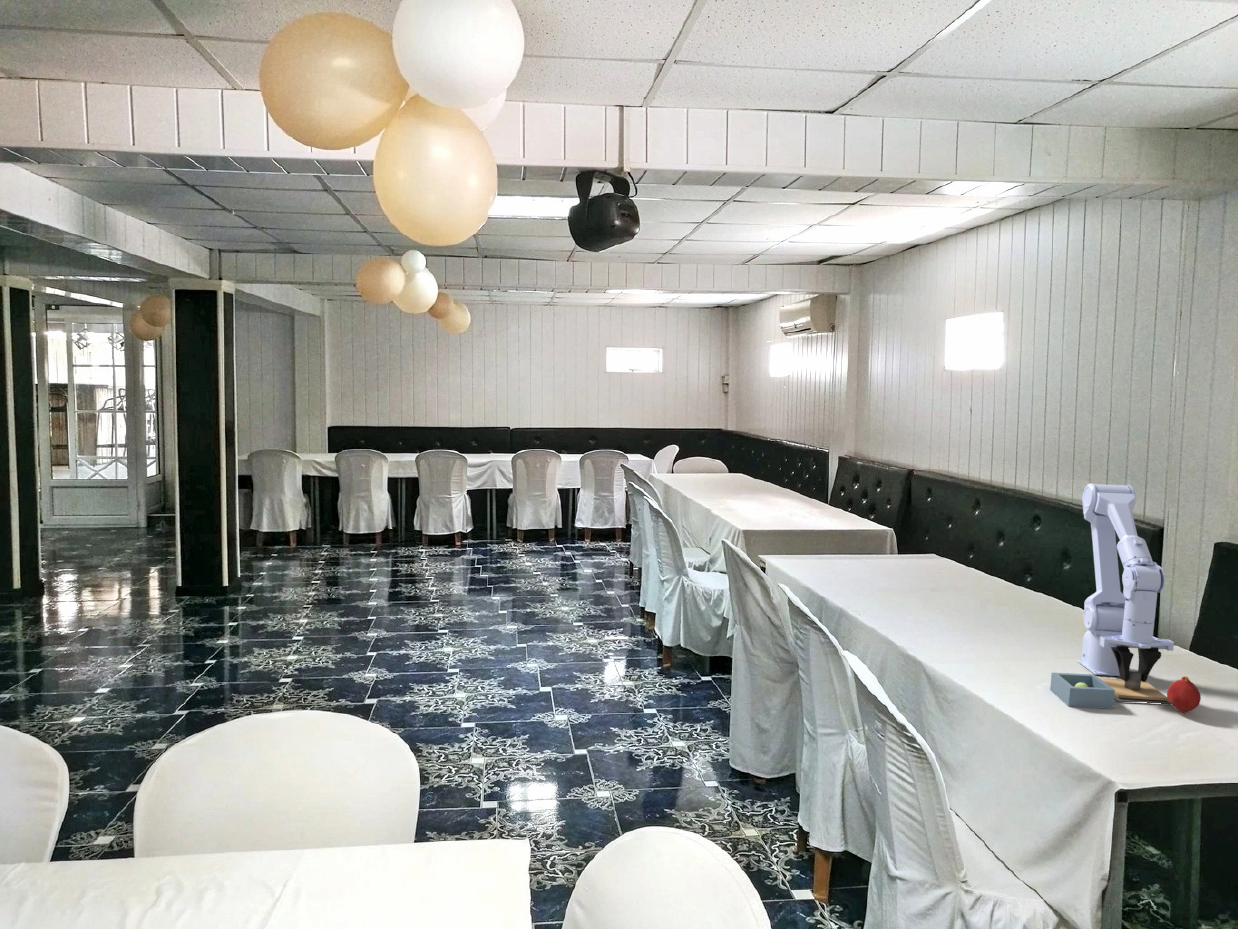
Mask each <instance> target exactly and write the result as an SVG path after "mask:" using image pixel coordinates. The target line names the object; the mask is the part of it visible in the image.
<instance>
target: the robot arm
mask: <svg viewBox="0 0 1238 929" xmlns="http://www.w3.org/2000/svg"><path fill="white" fill-rule="evenodd" d="M1081 501H1082V511H1083V512H1082V513H1083V519H1084V520H1085V521H1088V523H1090V529H1091V539H1092V552H1093V554H1092V555H1093V564H1094V566H1093V567H1094V577H1095V587H1096V591H1095V592H1094V593H1092V594H1091V595H1090V596H1088V597H1087V598H1086V599H1085V600H1084V610H1083V615H1082V618H1083V619H1082V620H1083V624H1084V626H1085V628H1086V629H1087V630H1086V632H1085V633H1084V634H1083V638H1082V646H1081V647H1082V649H1081V659H1080V658H1079V659H1077V662H1078V663H1079V664H1080V665H1082V666H1083V667H1084V668H1086V669H1087V671H1088V670H1089V671H1090V672H1092V673H1093V674H1094V675H1095V676H1107V677H1108V676H1112V677H1119V679H1122V680H1124V681H1128V678H1129V669H1131V663H1132V660H1133V657H1134V653H1133V652H1131V650H1130V649H1137V650H1138V651H1137V653H1138V666H1137V667H1138V669H1137V671H1140V672H1141V673H1142V676H1141V681H1142V682H1147V680H1148V678H1149V675H1150V673H1151V671H1152V669H1153V668H1154V666H1155V665H1156V663H1157V662H1158V661H1159V660H1160V659H1161V657H1162V652H1161V651H1160V650H1166V651H1170V652H1173V651H1174V646H1175V642H1174V641H1172V640H1171V639H1169V638H1168V639H1166V638H1158V637H1154V629H1155V619H1156V611H1157V610H1156V609H1157V599H1158V593H1162V591H1163V589H1164V587H1165V581H1166V580H1165V574H1164V570H1163V568H1162V567H1161V566H1160V565H1158V563H1157V562H1156V561H1153V559H1152V556H1151V553H1150V550H1149V548H1148V545H1147V542H1146V540H1145V539H1144V538H1142V537H1140V536H1138V533H1137V528H1136V524H1135V519H1134V514H1133V511H1134V509H1135V505H1136V502H1137V494H1136V490H1135V489H1134V487H1133V486H1132V485H1131V484H1126V485H1122V484H1101V483H1100V484H1099V483H1090V482H1089V483H1088V484H1087V485H1086V486H1085V487H1084V490H1083V493H1082V497H1081ZM1116 535H1117V537H1118V539H1119V541H1118V542H1117V539H1116ZM1118 555H1119V558H1120V561H1121V564H1122V567H1123V572H1122V575H1121V576H1122V577H1121V578H1122V579H1121V580H1122V585H1123V591H1121V583H1120V582H1121V581H1120V573H1119V572H1120V570H1119V569H1120V568H1119V559H1118ZM1092 673H1091V674H1092Z"/></svg>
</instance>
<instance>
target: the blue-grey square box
mask: <svg viewBox="0 0 1238 929" xmlns="http://www.w3.org/2000/svg"><path fill="white" fill-rule="evenodd" d="M1099 678H1100V677H1099V676H1098V675H1095V674H1094V673H1093V674H1092V673H1091V674H1090V673H1089V674H1088V673H1069V672H1051V677H1050V686H1049V687H1050V688H1049V690H1050V691H1051V693H1053V694H1054V695H1055V696H1056V695H1057V696H1058V697H1057V696H1056V697H1057V698H1059V699H1060V700H1061V702H1063V703H1064V702H1065V703H1066V704H1067V707H1071V706H1073V707H1075V708H1092V709H1093V708H1094V709H1097V708H1098V709H1111V708H1113V709H1114V702H1115V701H1114V694H1115V690H1114V689H1113V688H1111V687H1110V686H1109V685H1107V684H1106V683H1105V682H1103V681H1102V680H1101V679H1099ZM1080 682H1081V683H1085V684H1086V685H1087V686H1088V687H1075V685H1076V684H1077V683H1080ZM1065 703H1064V704H1065ZM1066 704H1065V705H1066Z"/></svg>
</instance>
